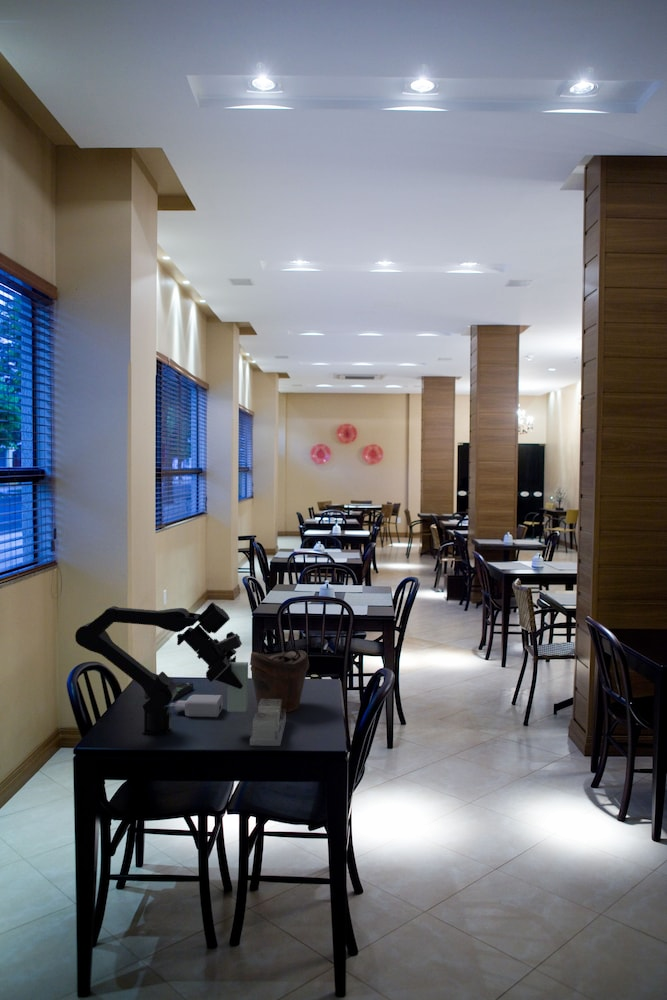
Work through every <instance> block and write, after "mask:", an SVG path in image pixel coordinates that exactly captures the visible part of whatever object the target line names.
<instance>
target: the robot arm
mask: <svg viewBox="0 0 667 1000" xmlns="http://www.w3.org/2000/svg"><path fill="white" fill-rule="evenodd" d="M230 619H231V618H230V615H229V614H228V613H227V612H226V611H225V610H224V609H223V608H221V607H220V606H219V605H217V604H216V603H214V602H213V601H212V602H211V603H210V604H208V606H207V607H206V609H205V610H204V611H202V612H201V613H195V612H191V611H189V610H188V609H187V608H183V607H178V608H176V607H175V608H169V609H168V608H167V609H159V610H155V609H153V610H152V609H145V608H144V609H142V608H141V609H140V608H129V607H119V606H116V605H114V606H110V607H108V608H106V609H105V610H104V611H103V612H102V613H101V614H100V615H99V616H98V617H96V618H95V619H94V620H93V621H89V622H87V623H86V624H84V625H82V626H80V627H79V628H78V629H77V630H76V631H75V635H74V637H75V642H76V643H77V644H78V646H80V647H82V648H84V649H86V650H88V651H89V652H93V653H96V654H99V655H101V656H102V657H104V658H105V659H107V661H109V662H110V663H112V664H113V666H115V667H116V668H118V669H119V670H121V672H123V673H124V674H125V675H126V676H128V677H129V678H130V679H132V680H133V681H134V682H136V683H137V684H138V685H139V686H141V688H142V690H143V692H144V694H145V693H146V695H147V696H148V697H149V698H147V700H146V702H145V703H143V705H142V708H143V712H144V714H143V716H144V717H143V718H144V720H143V731H142V734H143V735H167V734H168V732H169V731H170V730H171V728H172V713H171V712H170V706H169V705H170V704H171V703H172V699H173V698H174V697H175V695H176V693H177V688H176V685H175V683H174V682H175V679H174V678H171V677H169V676H168V675H167V674H166V673H165V672H164V671H161V672H160V673H159V674H156V673H154V672H152V671H150V670H149V669H148V668H147V667H145V666H144V665H143V664H142V663H140V662H139V661H138V660H136V658H134V657H133V656H132V655H130V654H129V653H127V652H126V651H125V650H123V649H122V648H121V647H120V646H119V645H118V644H116V643H115V642H113V640H112V639H111V637H110V634H109V633H108V632H107V631H106V630H107V629H108V628H110V627H111V625H113V624H114V623H119V624H133V625H145V626H154V627H158V628H160V629H163V630H166V631H170V632H174V633H177V635H176V638H177V643H176V645H178V646H180V645H181V644H182V643H183V642H185V643H186V644H187V645H188V646H189V647H190V648H191V650H192V651H194V652H195V653H196V654H197V656H196V657H197V658H198V659H199V660H200V659H201V660H203V662H205V663H206V665H208V666H207V670H206V672H205V678H206V679H207V680H208V681H209V682H210V683H212V682H213V681H216V682H219V683H220V682H221V683H223V684H226V685H227V686H228V685H231V686H233V687H236V688H239V689H241V688H242V687H243V685H242V684H241V682H240V681H239V679H238V678H237V677H236V675H235V674H234V672H233V671H232V662H237V655H236V653H237V650H236V649H239V648H240V647H241V646H242V645H243V642H242V640H241V639H240V638H241V636H239V635H238V633H234V632H233V631H230V632H228V633H226V638H223V639H222V640H220V641H219V640H218V639H217V638H214V639H213V637H211V636H210V635H209V634H211V633H212V634H217V632H219V630H220V629H221V628H223V627H224V625H225V624H226V623H227V622H229V621H230ZM197 622H199V623H198V624H197V625H196V626H195V627H194V628H193V626H194V625H195V624H196V623H197ZM187 627H188V628H187ZM186 628H187V629H186ZM184 630H185V631H184ZM182 631H184V632H183V633H180V632H182ZM232 657H233V658H232ZM230 662H231V663H230ZM229 663H230V664H229Z"/></svg>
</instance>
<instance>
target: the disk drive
mask: <svg viewBox="0 0 667 1000" xmlns="http://www.w3.org/2000/svg"><path fill="white" fill-rule="evenodd" d="M173 682H174V683H175V685H176V688H177V693H176V695H175V697H174V698H173V699H172V701H173V702H174V701H175V700H177V699H179V698H181V697H182V696H183V695H186V694H188V693H189V692H191V691H193V690H194V682H186V681H173ZM144 699H149V697H148V696H147V695H146V693H145V692H144ZM172 701H171V702H172Z"/></svg>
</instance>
